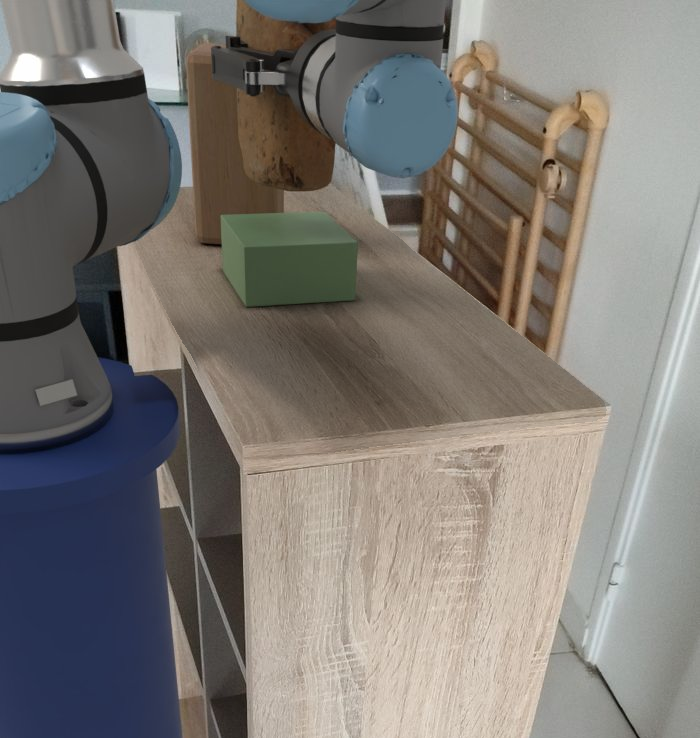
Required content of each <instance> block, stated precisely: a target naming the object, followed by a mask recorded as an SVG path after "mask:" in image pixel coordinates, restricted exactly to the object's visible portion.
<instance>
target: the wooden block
mask: <svg viewBox="0 0 700 738" xmlns="http://www.w3.org/2000/svg"><path fill="white" fill-rule="evenodd" d="M215 45H218V46H220V47H223V48H226V43H219V42H217V43H215V42H205V43H202V44H200V45H199V46H196V47H195V48H194V49H193V50H191V51H190V52H188V53H187V56H186V60H185V70H186V71H185V72H186V88H187V107H188V123H189V142H190V160H191V179H192V180H191V181H192V192H193V193H192V194H193V196H192V197H193V212H194V213H193V214H194V229H195V230H194V233H195V236H196V239H197V241H198V242H200V243H202V244H206V245H218V246H219V245H221V246H222V240H221V215H234V214H265V213H285V198H284V197H285V190H282V189H276V188H274V187H268V186H264V185H261V184H258V183H256V182H254V181H252V180H251V179H250V178H249V177H248V176H247V174H246V173H245V170H244V165H243V155H242V150H241V147H240V142H239V136H238V112H237V107H238V105H237V88H236V87H233V86H231V85H228V84H225V83H222V82H220V81H216V80H214V79H212V63H211V47H212V46H215Z"/></svg>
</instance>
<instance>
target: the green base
mask: <svg viewBox="0 0 700 738" xmlns="http://www.w3.org/2000/svg"><path fill="white" fill-rule="evenodd" d="M221 240H222V245H221V259H222V260H221V262H222V272H223V274H224V275H225V276H226V278H227V280H228V281H229V283H230V284H231V286H232V288H233V289H234V291H235V292H236V294H237V296H238V297H239V298H240V300H241V302H242V303H243V305H244V306H245V308H250V307H253V308H254V307H267V306H269V307H270V306H283V305H301V304H315V303H333V302H334V303H335V302H349V301H356V292H357V291H356V290H357V274H358V273H357V271H358V254H359V253H358V251H359V242H358V240H356V238H355V237H353V236H352V235H351V234H350V233H349V232H348V231H347V230H346V229H344V227H342V226H341V225H340V224H339V223H338V222H337V221H336V220H335V219H334V218H333V217H332V216H331V215H330V214H329V213H327V212H326V211H302V212H301V211H299V212H284V213H265V214H234V215H221Z"/></svg>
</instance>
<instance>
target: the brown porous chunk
mask: <svg viewBox="0 0 700 738" xmlns="http://www.w3.org/2000/svg"><path fill="white" fill-rule="evenodd" d="M235 28H236V29H235V36H238V37H240V38H241V41H243V42H245V43H247V44H248V48H251V49H256V50H262V51H267V52H272V53H275V51H276V50H278V49H292V50H299V49H300V47H301V46H302V45H303V44H304V42H305V41H306V40H308V39H309V38H310V37H311V36H313V35H314V34H316V33H318V32H321V31H324V30H328V29H336V18H333V19H332V20H330V21H327V22H321V23H296V22H291V21H281V20H276V19H272V18H269V17H267V16H265V15H262V14H261V13H259V12H257V11H256V10H254V9H253V8H252V7H251V6H249V5H248V4H247V3H246V2H245V1H244V0H236V14H235ZM291 60H292V59H291ZM237 105H238V107H237V112H238V136H239V142H240V147H241V150H242V155H243V165H244V170H245V173H246V174H247V176H248V177H249V178H250V179H251V180H252V181H254V182H256V183H258V184H261V185H264V186H268V187H274V188H276V189H282V190H284V192H285V191H286V192H315V191H320V190H322V189H324V188H326V187H328V186H329V185H330V184H331V183H332V179H333V176H334V175H333V174H334V168H335V159H336V145H337V144H336V143H335V142H334V141H332V140H331V139H329V138H328V137H326V136H325V135H323V134H321V133H319V132H318V131H317V130H315V129H314V128H312V127H311V126H309V125H308V124H307V123H306V122H305V121H304V120H303V119H302V118H301V117H300V115H299V114H298V112H297V111H296V109H295V107H294V105H293V102H292V100H291V97H286V96H282V95H278V94H277V93H276V91H275V88H274V87H271V86H266V85H265V92H264V93H260V95H257V96H250V95H248V94H246V93H245V91H244V90H241V89H239V88H237Z"/></svg>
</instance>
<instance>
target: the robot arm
mask: <svg viewBox="0 0 700 738" xmlns="http://www.w3.org/2000/svg"><path fill="white" fill-rule="evenodd" d="M244 1H245V2H246V3H247V4H248V5H249V6H251V7H252V8H253V9H254V10H256V11H257V12H259V13H261V14H262V15H265V16H267V17H269V18H272V19H276V20H281V21H291V22H296V23H321V22H327V21H330V20H332V19H333V18H336V29H328V30H324V31H321V32H318V33H316V34H314V35H313V36H311V37H310V38H309V39H308V40H306V41H305V42H304V44H303V45H302V46H301V47H300V49H299V50H292V49H278V50H276V51H275V53H272V52H267V51H262V50H256V49H251V48H248V44H247V43H245V42H243V41H241V38H240V37H238V36H236V35H235V36H234V35H225V44H226V48H223V47H220V46H218V45H215V46H212V47H211V63H212V79H214V80H216V81H220V82H222V83H225V84H228V85H231V86H233V87H236V88H239V89H241V90H244V91H245V93H246V94H248V95H250V96H257V95H260V93H264V92H265V85H266V86H271V87H274V88H275V91H276V93H277V94H278V95H282V96H286V97H291V100H292V102H293V105H294V107H295V109H296V111H297V112H298V114H299V115H300V117H301V118H302V119H303V120H304V121H305V122H306V123H307V124H308V125H309V126H311V127H312V128H314V129H315V130H317V131H318V132H319V133H321V134H323V135H325V136H326V137H328V138H329V139H331V140H332V141H334V142H335V143H336V144H335V145H337V146H339V147H340V148H341V149H343V150H344V151H345V152H346V153H348V155H349V156H350V157H353V158H354V159H355V160H356V162H357V163H359V164H361V165H362V166H363V167H364V168H366V169H369V170H371V171H373V172H376V173H379V174H381V175H385V176H387V177H391V178H396V179H397V178H398V179H406V178H412V177H416V176H419V175H422V174H423V173H426V172H427V171H429V170H430V169H432V168H433V167H434V166H436V164H437V163H438V162H439V161H440V160H441V159H442V158H443V157H444V155H445V154H446V153H447V151H448V149H449V148H450V146H451V144H452V142H453V138H454V136H455V134H456V130H457V126H458V117H459V108H458V102H457V97H456V93H455V90H454V88H453V86H452V83H451V81H450V79H449V77H448V76H447V75H446V73H444V72H445V71H443V69H442V59H443V47H444V36H443V35H444V29H445V28H444V27H445V26H444V25H445V13H446V5H447V0H244ZM0 5H1V10H2V14H3V19H4V24H5V27H6V31H7V36H8V41H9V45H10V50H11V51H10V56H9V59H8V60H7V62H6V64H5V65H4V67H3V69H2V70H1V72H0V454H22V453H32V452H39V451H45V450H50V449H54V448H58V447H62V446H65V445H69V444H72V443H74V442H77V441H79V440H82V439H84V438H86V437H88V436H90V435H92V434H93V433H95V432H97V431H98V430H100V429H101V428H102V427H103V426H104V425H105V424H106V423H107V422H108V421H109V420H110V418H111V416H112V414H113V410H114V406H113V398H112V390H111V385H110V382H109V381H108V378H107V376H106V374H105V372H104V370H103V368H102V366H101V364H100V362H99V359H98V355H97V353H96V351H95V349H94V347H93V345H92V343H91V341H90V339H89V336H88V334H87V333H86V330H85V328H84V327H83V324H82V322H81V321H82V320H81V318H80V311H79V304H78V298H77V289H76V283H75V281H76V280H75V275H74V274H75V273H74V267H75V266H77V265H80V264H82V263H84V262H86V261H89V260H91V259H93V258H96V257H97V256H100V255H102V254H104V253H106V252H108V251H111V250H113V249H115V248H118V247H122V246H127V245H128V244H131V243H134V242H137V241H139V240H140V239H142V238H143V237H144V236H145V235H147V234H148V233H149V232H150V231H151V230H153V229H155V228H156V227H158V225H161V223H162V222H163V221H164V220H165V219H166V218H167V217H168V215H169V214H170V213H171V211H172V209H173V208H174V206H175V204H176V201H177V199H178V196H179V193H180V190H181V185H182V178H183V177H182V176H183V159H182V153H181V148H180V143H179V140H178V137H177V134H176V132H175V129H174V127H173V125H172V123H171V122H170V120H169V118H167V117H165V116H164V115H163V114H162V113H161V108H160V106H159V105H157V103H156V102H154V101H153V100H152V99H150V98H149V96H148V88H147V81H146V75H145V72H144V71H145V70H144V67H143V66H142V65H141V64H140V63H139V62H138V61H137V60H136V59H135V58H133V56H131V54H129V52H128V51H126V49H125V48H124V46H123V45H122V42H121V38H120V33H119V25H118V20H117V14H116V7H115V1H114V0H0ZM291 59H292V60H291Z"/></svg>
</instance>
